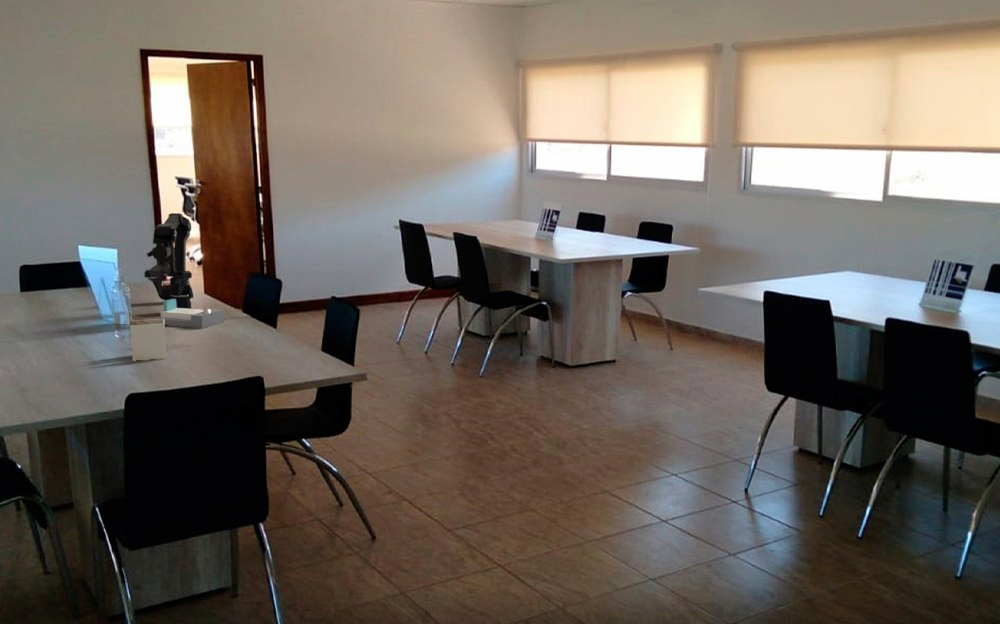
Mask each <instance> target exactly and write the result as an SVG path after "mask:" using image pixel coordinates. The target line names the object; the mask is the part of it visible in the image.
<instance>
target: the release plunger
mask: <svg viewBox="0 0 1000 624" xmlns="http://www.w3.org/2000/svg"><path fill="white" fill-rule="evenodd" d="M202 310H203V313H211V308H203V309H202Z"/></svg>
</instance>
